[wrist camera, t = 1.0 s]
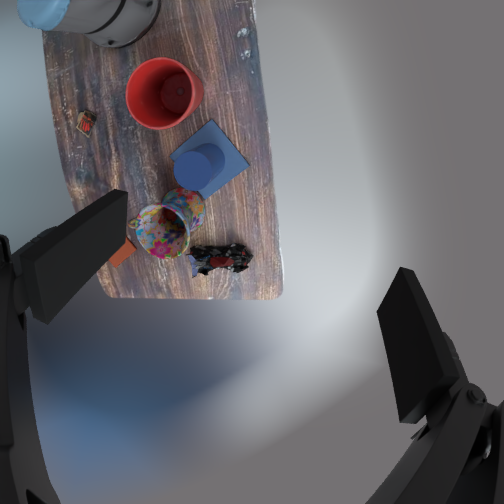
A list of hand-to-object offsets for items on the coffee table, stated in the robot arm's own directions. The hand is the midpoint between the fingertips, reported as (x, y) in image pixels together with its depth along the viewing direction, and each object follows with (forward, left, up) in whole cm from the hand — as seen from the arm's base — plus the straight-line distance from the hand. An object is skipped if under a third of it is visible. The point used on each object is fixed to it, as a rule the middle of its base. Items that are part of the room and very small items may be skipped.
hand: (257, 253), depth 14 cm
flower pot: (+9, -18, -39) cm, 44 cm away
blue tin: (+13, -6, -39) cm, 41 cm away
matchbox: (+27, -28, -39) cm, 55 cm away
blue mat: (+13, -6, -39) cm, 42 cm away
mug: (+24, -2, -39) cm, 46 cm away
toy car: (+23, +10, -39) cm, 46 cm away
